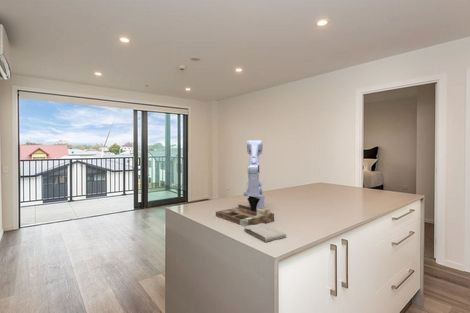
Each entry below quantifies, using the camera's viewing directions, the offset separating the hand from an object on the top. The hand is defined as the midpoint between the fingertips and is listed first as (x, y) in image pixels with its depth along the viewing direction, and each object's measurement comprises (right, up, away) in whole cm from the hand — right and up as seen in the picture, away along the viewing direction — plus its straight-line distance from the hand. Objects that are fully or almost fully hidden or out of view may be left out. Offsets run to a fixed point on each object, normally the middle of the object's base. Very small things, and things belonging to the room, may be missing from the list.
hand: (253, 210), depth 137 cm
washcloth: (+3, -6, -25) cm, 26 cm away
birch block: (+5, -2, -6) cm, 8 cm away
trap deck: (-5, -4, -1) cm, 7 cm away
